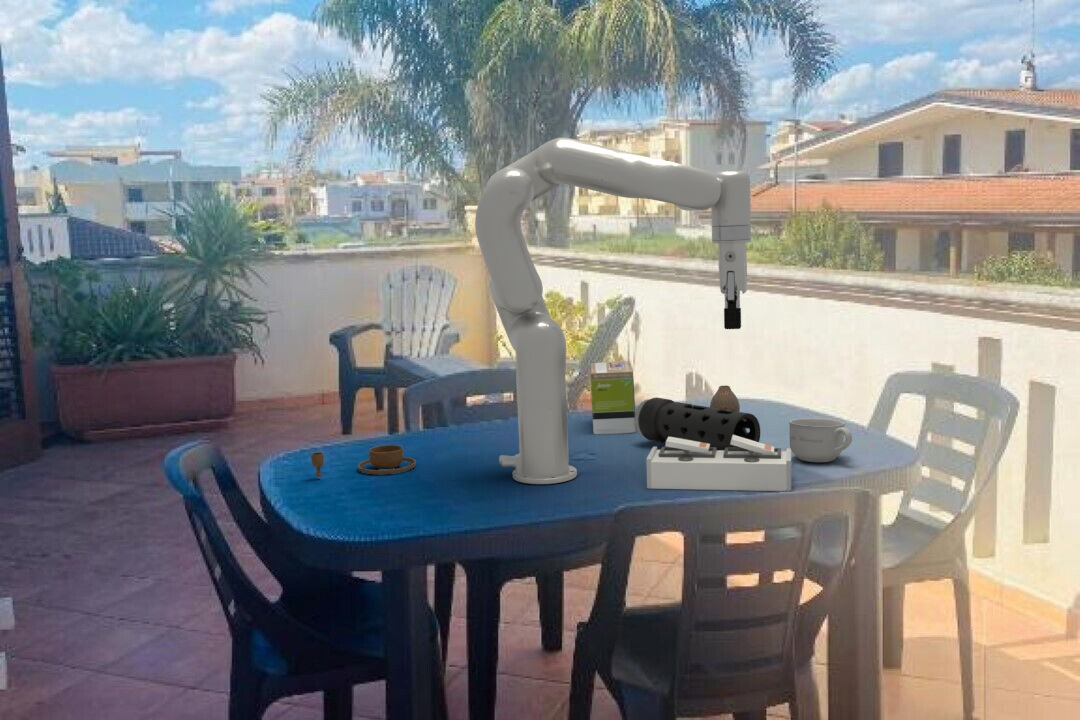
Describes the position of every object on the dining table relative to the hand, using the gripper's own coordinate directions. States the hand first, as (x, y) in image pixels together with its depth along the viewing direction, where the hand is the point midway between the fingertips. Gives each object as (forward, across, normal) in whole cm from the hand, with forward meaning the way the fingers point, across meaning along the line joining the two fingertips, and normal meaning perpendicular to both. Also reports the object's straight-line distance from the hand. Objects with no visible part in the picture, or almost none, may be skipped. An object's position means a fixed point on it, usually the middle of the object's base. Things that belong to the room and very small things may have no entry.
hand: (732, 328), depth 213 cm
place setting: (+28, -10, +74) cm, 80 cm away
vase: (+27, +38, +4) cm, 47 cm away
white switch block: (+27, -16, +2) cm, 32 cm away
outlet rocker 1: (+22, -14, +8) cm, 27 cm away
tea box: (+27, +32, +30) cm, 52 cm away
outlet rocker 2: (+22, -14, -4) cm, 26 cm away
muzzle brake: (+28, +9, +9) cm, 30 cm away
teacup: (+27, +2, -17) cm, 32 cm away
